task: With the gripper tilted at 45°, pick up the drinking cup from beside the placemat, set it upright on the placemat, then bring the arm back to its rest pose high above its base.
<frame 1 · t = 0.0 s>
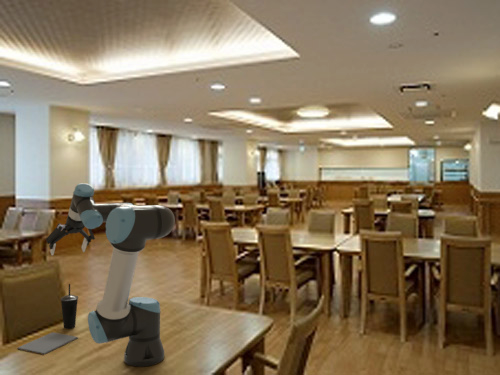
hand: (67, 251, 193), 36 cm above the table, tool tilted 35°, fingers open, 13 cm apart
drinking cup: (69, 327, 199), on the table
placemat: (48, 343, 180), on the table
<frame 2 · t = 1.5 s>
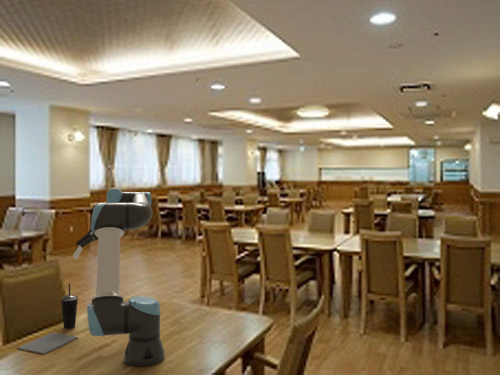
hand: (85, 259, 208), 30 cm above the table, tool tilted 45°, fingers open, 13 cm apart
nothing on the table moved.
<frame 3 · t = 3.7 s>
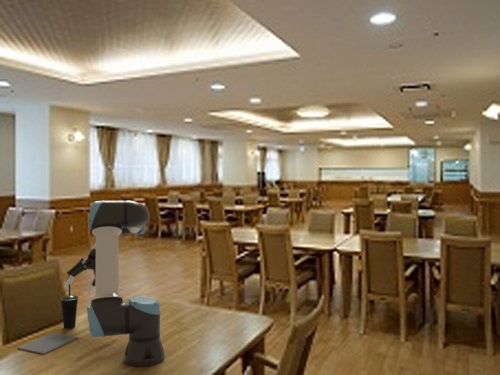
hand: (76, 289, 204), 16 cm above the table, tool tilted 45°, fingers open, 13 cm apart
nothing on the table moved.
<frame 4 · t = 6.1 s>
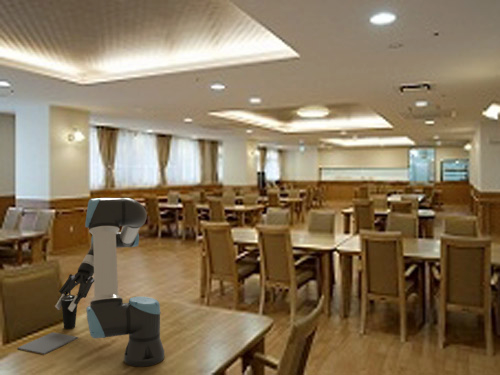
hand: (63, 309, 195), 9 cm above the table, tool tilted 45°, fingers closed on drinking cup, 7 cm apart
drinking cup: (69, 327, 199), on the table, touching gripper
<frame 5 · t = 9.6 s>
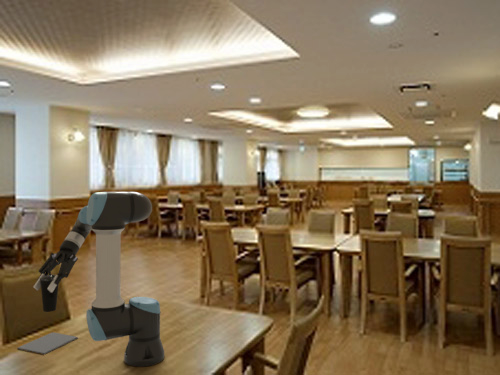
hand: (42, 289, 177), 23 cm above the table, tool tilted 45°, fingers closed on drinking cup, 7 cm apart
drinking cup: (49, 310, 180), point 14 cm above the table, touching gripper
when the fingers open (11 cm above the table, at t = 13.1 s): drinking cup drops 1 cm, resting on placemat.
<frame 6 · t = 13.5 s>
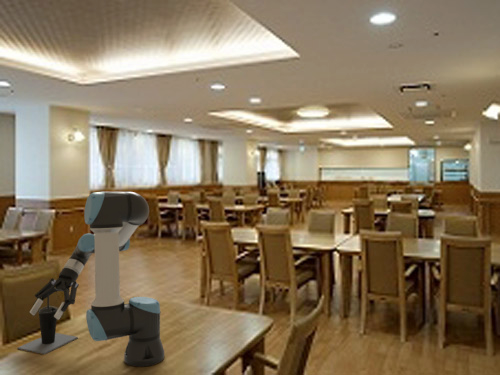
hand: (43, 316, 177), 12 cm above the table, tool tilted 45°, fingers open, 12 cm apart
drinking cup: (48, 342, 180), resting on placemat
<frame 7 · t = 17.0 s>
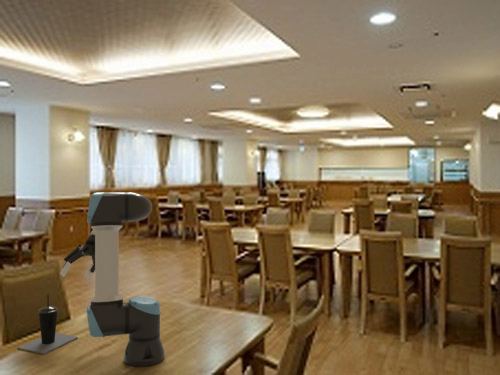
hand: (73, 276, 192), 25 cm above the table, tool tilted 45°, fingers open, 13 cm apart
nothing on the table moved.
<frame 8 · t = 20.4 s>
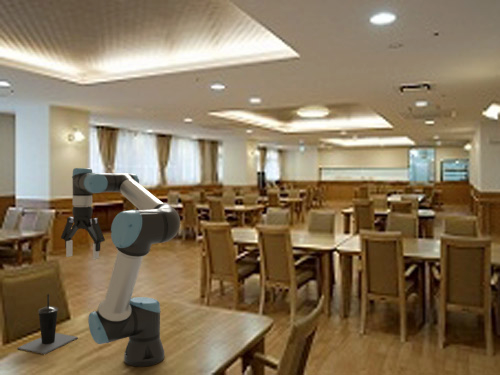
hand: (82, 257, 176), 37 cm above the table, tool pointing down, fingers open, 13 cm apart
nothing on the table moved.
at the end: drinking cup inside the target area on the placemat (0.2 cm from its centre), point 0.4 cm above the placemat's base; drinking cup tilted 0°; the gripper is holding nothing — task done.
